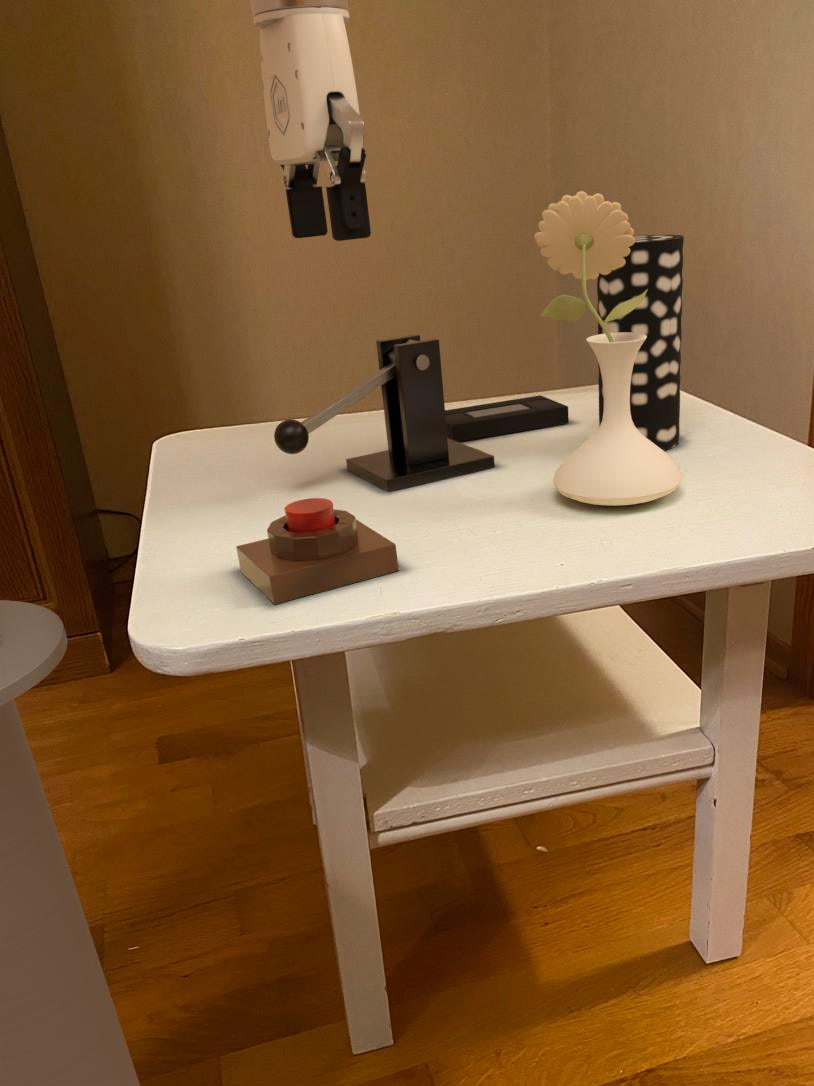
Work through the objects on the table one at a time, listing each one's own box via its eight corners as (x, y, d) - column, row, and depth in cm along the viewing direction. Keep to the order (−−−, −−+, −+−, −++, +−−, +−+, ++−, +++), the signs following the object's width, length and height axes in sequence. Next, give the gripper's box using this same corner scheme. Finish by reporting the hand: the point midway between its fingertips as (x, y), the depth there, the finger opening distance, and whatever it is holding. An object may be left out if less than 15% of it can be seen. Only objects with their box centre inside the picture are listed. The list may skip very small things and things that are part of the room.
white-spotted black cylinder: (598, 455, 98) (594, 245, 89) (600, 434, 106) (597, 238, 97) (680, 452, 97) (685, 239, 88) (677, 431, 104) (681, 232, 96)
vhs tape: (430, 429, 113) (429, 412, 112) (541, 411, 117) (540, 395, 116) (453, 443, 106) (451, 425, 106) (568, 423, 111) (568, 406, 110)
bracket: (387, 492, 92) (372, 355, 86) (346, 470, 100) (329, 343, 94) (495, 467, 97) (486, 336, 91) (448, 448, 105) (437, 326, 99)
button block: (274, 604, 69) (265, 553, 67) (240, 572, 75) (231, 524, 74) (399, 571, 73) (393, 521, 72) (357, 542, 80) (351, 496, 78)
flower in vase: (701, 484, 87) (711, 181, 76) (651, 524, 79) (654, 189, 68) (573, 471, 94) (565, 190, 83) (514, 506, 85) (497, 198, 74)
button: (298, 539, 71) (294, 516, 70) (281, 526, 74) (277, 504, 73) (343, 528, 72) (340, 506, 71) (325, 516, 75) (322, 494, 74)
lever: (291, 463, 90) (274, 434, 88) (280, 456, 92) (263, 428, 90) (434, 368, 93) (420, 338, 92) (419, 364, 96) (406, 335, 94)
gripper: (221, 19, 80) (257, 240, 88) (290, -20, 67) (326, 245, 74) (306, 18, 83) (334, 231, 91) (388, -20, 70) (413, 235, 77)
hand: (330, 237), depth 83 cm, fingers open, 9 cm apart
